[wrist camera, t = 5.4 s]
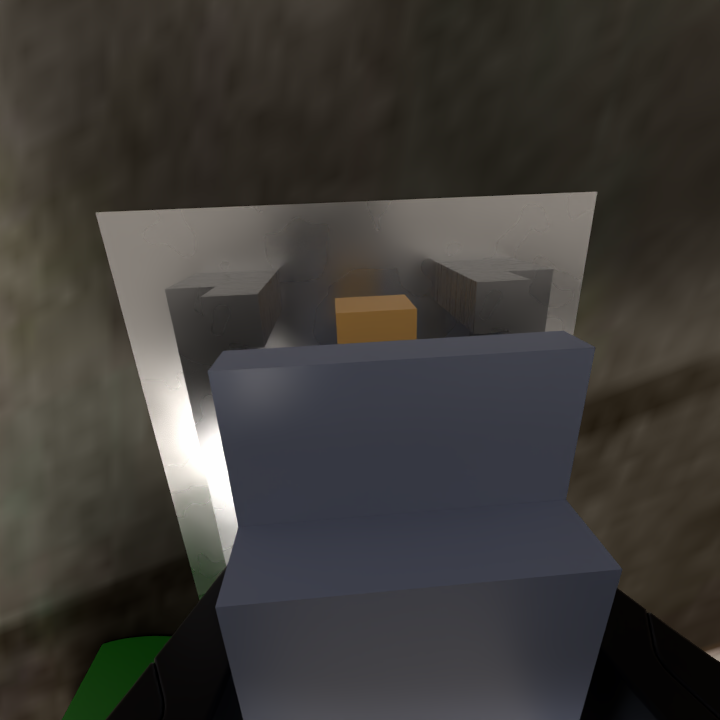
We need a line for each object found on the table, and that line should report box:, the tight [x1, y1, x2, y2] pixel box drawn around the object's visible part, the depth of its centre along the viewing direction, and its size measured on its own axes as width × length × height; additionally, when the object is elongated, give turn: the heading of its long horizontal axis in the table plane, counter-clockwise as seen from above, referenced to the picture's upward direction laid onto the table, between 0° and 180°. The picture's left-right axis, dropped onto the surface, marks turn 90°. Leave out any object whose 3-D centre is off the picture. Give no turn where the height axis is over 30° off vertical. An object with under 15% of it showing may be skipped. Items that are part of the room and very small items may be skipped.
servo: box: [208, 294, 622, 720], centre depth 7 cm, size 4×10×5 cm, turn 2°
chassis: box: [96, 192, 597, 600], centre depth 11 cm, size 12×13×4 cm
